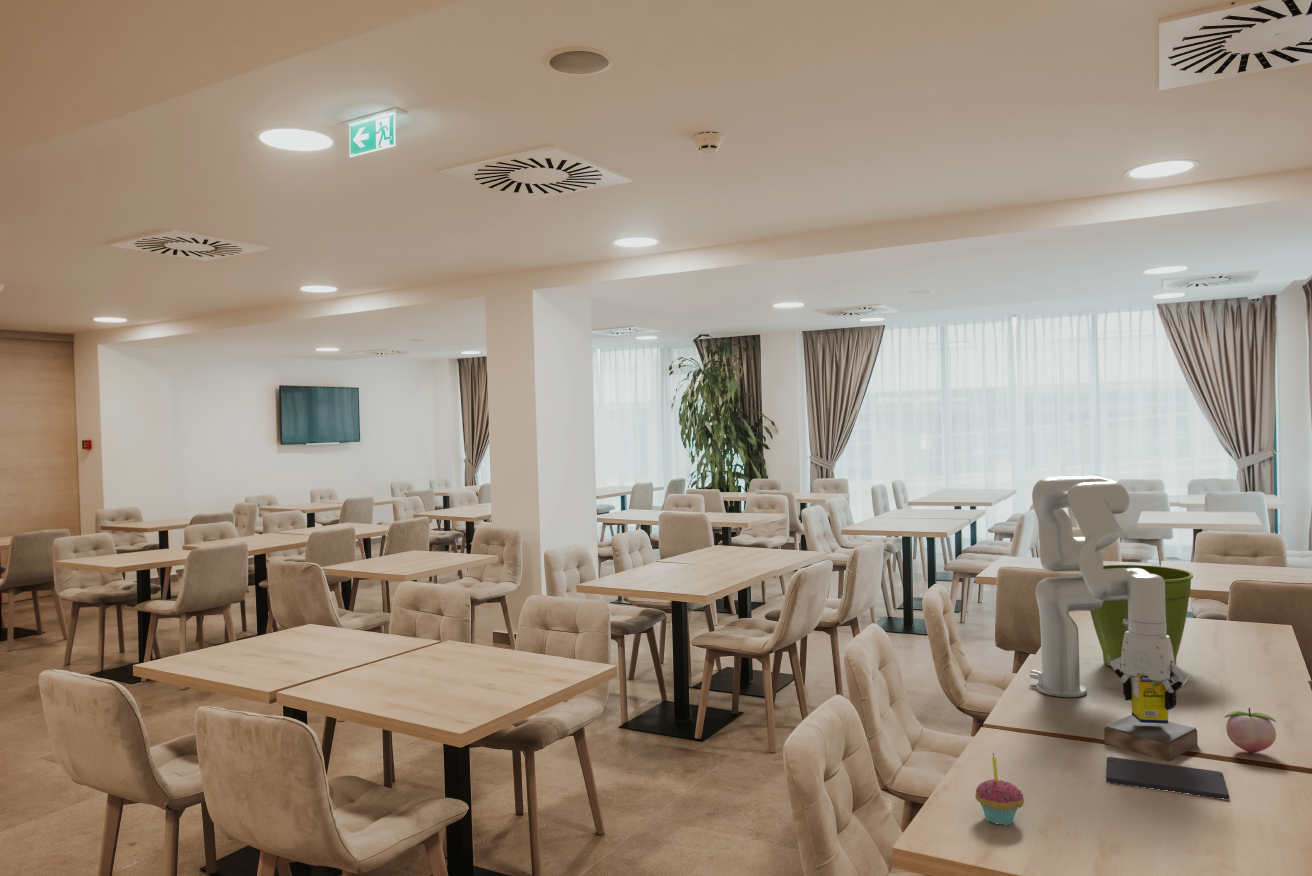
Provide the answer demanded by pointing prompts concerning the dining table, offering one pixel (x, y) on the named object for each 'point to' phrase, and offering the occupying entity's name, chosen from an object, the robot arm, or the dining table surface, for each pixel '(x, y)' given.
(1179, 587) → the plant pot
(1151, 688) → the supplement box
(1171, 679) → the robot arm
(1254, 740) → the decorative fruit
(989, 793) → the cupcake
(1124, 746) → the dock
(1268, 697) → the dining table surface
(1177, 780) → the notebook
